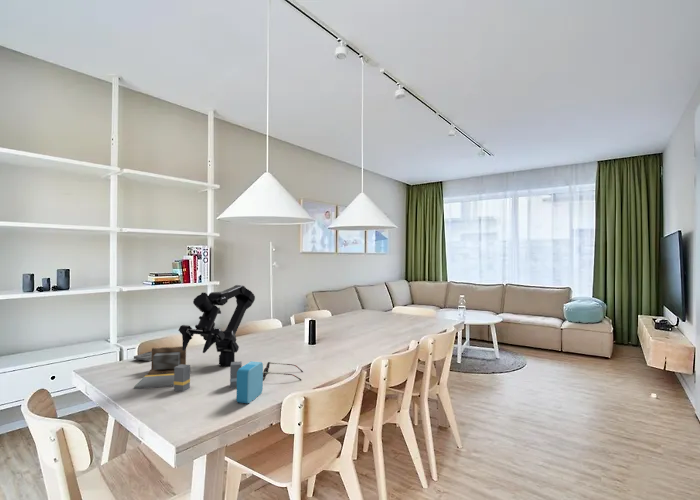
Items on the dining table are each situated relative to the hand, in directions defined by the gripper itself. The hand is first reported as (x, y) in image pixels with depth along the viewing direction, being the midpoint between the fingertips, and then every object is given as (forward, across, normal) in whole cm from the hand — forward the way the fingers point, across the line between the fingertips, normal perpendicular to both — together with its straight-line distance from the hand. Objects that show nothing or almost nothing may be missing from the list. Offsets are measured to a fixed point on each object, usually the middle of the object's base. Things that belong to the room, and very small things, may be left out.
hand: (193, 351), depth 151 cm
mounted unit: (+4, +19, -16) cm, 25 cm away
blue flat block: (+15, -31, +1) cm, 34 cm away
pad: (+12, +13, -6) cm, 19 cm away
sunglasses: (0, -34, -19) cm, 39 cm away
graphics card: (-5, +41, -30) cm, 51 cm away
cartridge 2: (+9, -20, -7) cm, 23 cm away
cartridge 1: (+15, -2, -1) cm, 15 cm away
